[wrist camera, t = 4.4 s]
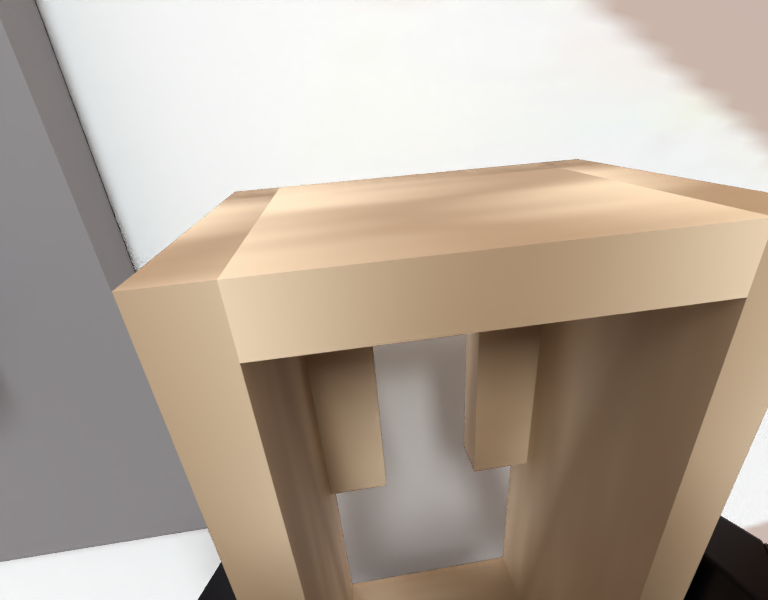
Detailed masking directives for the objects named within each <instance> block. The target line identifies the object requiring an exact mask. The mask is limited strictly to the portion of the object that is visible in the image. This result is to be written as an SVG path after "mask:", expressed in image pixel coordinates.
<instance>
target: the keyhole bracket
mask: <svg viewBox="0 0 768 600" xmlns="http://www.w3.org/2000/svg"><path fill="white" fill-rule="evenodd" d="M112 293H113V296H114V298H115V301H116V303H117V306H118V308H119V311H120V313H121V316H122V318H123V321H124V323H125V326H126V328H127V330H128V333H129V335H130V338H131V340H132V343H133V345H134V348H135V350H136V353H137V355H138V358H139V360H140V362H141V365H142V367H143V370H144V372H145V375H146V377H147V380H148V382H149V385H150V387H151V390H152V392H153V395H154V397H155V399H156V402H157V404H158V407H159V409H160V412H161V414H162V417H163V419H164V422H165V424H166V427H167V429H168V431H169V434H170V436H171V439H172V441H173V444H174V446H175V449H176V451H177V454H178V456H179V459H180V461H181V464H182V466H183V468H184V471H185V473H186V476H187V478H188V481H189V483H190V486H191V488H192V491H193V493H194V496H195V498H196V501H197V503H198V505H199V508H200V510H201V513H202V515H203V518H204V520H205V523H206V525H207V528H208V530H209V533H210V535H211V537H212V540H213V542H214V545H215V547H216V550H217V552H218V555H219V557H220V560H221V562H222V565H223V567H224V570H225V572H226V574H227V577H228V579H229V582H230V584H231V587H232V589H233V592H234V594H235V597H236V599H237V600H683V599H684V597H685V595H686V593H687V590H688V588H689V586H690V583H691V581H692V579H693V577H694V574H695V572H696V570H697V568H698V565H699V563H700V561H701V558H702V556H703V554H704V552H705V549H706V547H707V545H708V542H709V540H710V538H711V536H712V533H713V531H714V529H715V527H716V524H717V522H718V520H719V517H720V515H721V513H722V511H723V508H724V506H725V504H726V501H727V499H728V497H729V495H730V492H731V490H732V488H733V485H734V483H735V481H736V479H737V476H738V474H739V472H740V470H741V467H742V465H743V463H744V460H745V458H746V456H747V454H748V451H749V449H750V447H751V444H752V442H753V440H754V438H755V435H756V433H757V431H758V428H759V426H760V424H761V422H762V419H763V417H764V415H765V413H766V410H767V408H768V193H767V192H761V191H755V190H750V189H744V188H738V187H733V186H727V185H721V184H716V183H710V182H704V181H699V180H693V179H687V178H682V177H676V176H670V175H665V174H659V173H653V172H648V171H642V170H636V169H631V168H625V167H619V166H614V165H608V164H602V163H597V162H591V161H585V160H579V159H574V160H563V161H553V162H542V163H532V164H521V165H511V166H500V167H490V168H479V169H469V170H458V171H448V172H437V173H427V174H416V175H406V176H395V177H385V178H374V179H363V180H353V181H342V182H332V183H321V184H311V185H300V186H290V187H279V188H269V189H258V190H248V191H237V192H234V193H233V194H232V195H230V196H229V197H228V198H227V199H225V200H224V201H223V202H222V203H221V204H219V205H218V206H217V207H216V208H214V209H213V210H212V211H211V212H209V213H208V214H207V215H206V216H204V217H203V218H202V219H201V220H200V221H198V222H197V223H196V224H195V225H193V226H192V227H191V228H190V229H188V230H187V231H186V232H185V233H184V234H182V235H181V236H180V237H179V238H177V239H176V240H175V241H174V242H172V243H171V244H170V245H169V246H168V247H166V248H165V249H164V250H163V251H161V252H160V253H159V254H158V255H156V256H155V257H154V258H153V259H152V260H150V261H149V262H148V263H147V264H145V265H144V266H143V267H142V268H140V269H139V270H138V271H137V272H136V273H134V274H133V275H132V276H131V277H129V278H128V279H127V280H126V281H124V282H123V283H122V284H121V285H120V286H118V287H117V288H116V289H115V290H113V291H112ZM462 334H466V383H465V436H464V448H465V450H466V453H467V455H468V457H469V460H470V462H471V465H472V467H473V470H474V471H480V470H486V469H493V468H499V467H505V466H511V469H510V480H509V491H508V502H507V513H506V524H505V535H504V547H503V557H501V558H495V559H490V560H484V561H479V562H473V563H467V564H462V565H456V566H451V567H445V568H440V569H434V570H428V571H423V572H417V573H412V574H406V575H400V576H395V577H389V578H384V579H378V580H372V581H367V582H361V583H356V584H352V581H351V575H350V570H349V564H348V559H347V553H346V548H345V542H344V537H343V531H342V526H341V520H340V515H339V509H338V504H337V498H336V493H342V492H348V491H355V490H361V489H367V488H373V487H380V486H386V475H385V465H384V456H383V446H382V436H381V426H380V416H379V406H378V396H377V386H376V376H375V366H374V356H373V346H377V345H385V344H393V343H401V342H408V341H416V340H424V339H431V338H439V337H447V336H454V335H462Z"/></svg>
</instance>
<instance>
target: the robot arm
mask: <svg viewBox="0 0 768 600" xmlns="http://www.w3.org/2000/svg"><path fill="white" fill-rule="evenodd" d="M198 600H237V599H236V597H235V594H234V592H233V589H232V587H231V584H230V582H229V579H228V577H227V574H226V572H225V570H224V567H223V565H222V562H221V563H220V565H219V567H218V568H217V570H216V571H215V573H214V575H213V576H212V578H211V579H210V581H209V583H208V584H207V586H206V587H205V589H204V591H203V592H202V594H201V595H200V597H199V599H198ZM683 600H768V544H767V543H763V542H762V541H761V540H760V539H758V538H757V537H755V536H754V535H752V534H750V533H749V532H747V531H745V530H744V529H742V528H740V527H739V526H737V525H735V524H734V523H732V522H731V521H729V520H727V519H726V518H724V517H722V516H721V515H720V517H719V520H718V522H717V524H716V527H715V529H714V531H713V533H712V536H711V538H710V540H709V542H708V545H707V547H706V549H705V552H704V554H703V556H702V558H701V561H700V563H699V565H698V568H697V570H696V572H695V574H694V577H693V579H692V581H691V583H690V586H689V588H688V590H687V593H686V595H685V597H684V599H683Z"/></svg>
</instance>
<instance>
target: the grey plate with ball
mask: <svg viewBox="0 0 768 600" xmlns="http://www.w3.org/2000/svg"><path fill="white" fill-rule="evenodd" d="M134 273H135V271H134V268H133V266H132V263H131V260H130V257H129V255H128V252H127V249H126V247H125V244H124V241H123V238H122V236H121V233H120V230H119V228H118V225H117V222H116V220H115V217H114V214H113V211H112V209H111V206H110V203H109V201H108V198H107V195H106V192H105V190H104V187H103V184H102V182H101V179H100V176H99V174H98V171H97V168H96V165H95V163H94V160H93V157H92V155H91V152H90V149H89V146H88V144H87V141H86V138H85V136H84V133H83V130H82V128H81V125H80V122H79V119H78V117H77V114H76V111H75V109H74V106H73V103H72V100H71V98H70V95H69V92H68V90H67V87H66V84H65V82H64V79H63V76H62V73H61V71H60V68H59V65H58V63H57V60H56V57H55V54H54V52H53V49H52V46H51V44H50V41H49V38H48V36H47V33H46V30H45V27H44V25H43V22H42V19H41V17H40V14H39V11H38V8H37V6H36V3H35V0H0V562H2V561H9V560H15V559H21V558H27V557H33V556H39V555H45V554H52V553H58V552H64V551H70V550H76V549H82V548H89V547H95V546H101V545H107V544H113V543H119V542H126V541H132V540H138V539H144V538H150V537H156V536H162V535H169V534H175V533H181V532H187V531H193V530H199V529H206V528H207V525H206V523H205V520H204V518H203V515H202V513H201V510H200V508H199V505H198V503H197V501H196V498H195V496H194V493H193V491H192V488H191V486H190V483H189V481H188V478H187V476H186V473H185V471H184V468H183V466H182V464H181V461H180V459H179V456H178V454H177V451H176V449H175V446H174V444H173V441H172V439H171V436H170V434H169V431H168V429H167V427H166V424H165V422H164V419H163V417H162V414H161V412H160V409H159V407H158V404H157V402H156V399H155V397H154V395H153V392H152V390H151V387H150V385H149V382H148V380H147V377H146V375H145V372H144V370H143V367H142V365H141V362H140V360H139V358H138V355H137V353H136V350H135V348H134V345H133V343H132V340H131V338H130V335H129V333H128V330H127V328H126V326H125V323H124V321H123V318H122V316H121V313H120V311H119V308H118V306H117V303H116V301H115V298H114V296H113V293H112V291H113V290H115V289H116V288H117V287H118V286H120V285H121V284H122V283H123V282H124V281H126V280H127V279H128V278H129V277H131V276H132V275H133V274H134Z"/></svg>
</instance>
